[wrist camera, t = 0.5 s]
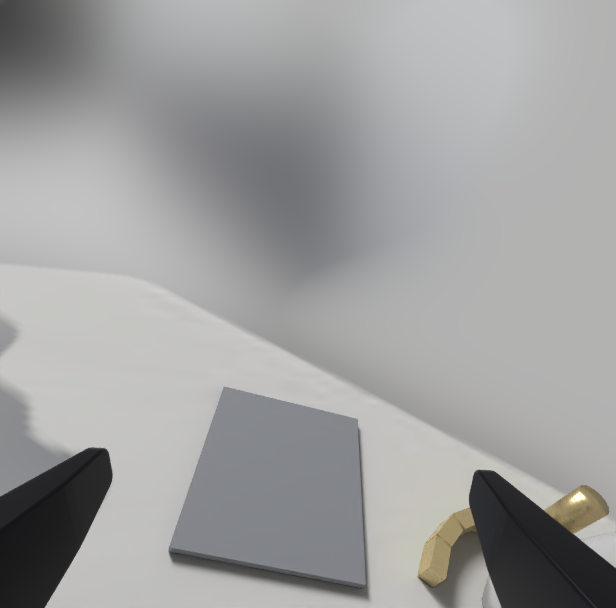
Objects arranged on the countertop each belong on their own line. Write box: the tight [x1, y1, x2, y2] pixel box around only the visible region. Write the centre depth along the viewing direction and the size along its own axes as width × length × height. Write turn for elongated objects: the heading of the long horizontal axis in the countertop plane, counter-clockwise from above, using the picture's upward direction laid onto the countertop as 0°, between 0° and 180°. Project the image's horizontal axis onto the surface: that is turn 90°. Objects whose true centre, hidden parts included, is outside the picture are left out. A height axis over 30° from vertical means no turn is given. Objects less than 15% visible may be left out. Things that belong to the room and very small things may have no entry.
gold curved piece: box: [418, 485, 609, 587], centre depth 21 cm, size 10×12×6 cm
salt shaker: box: [482, 532, 616, 608], centre depth 17 cm, size 6×6×13 cm
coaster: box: [169, 387, 366, 588], centre depth 24 cm, size 11×11×1 cm
